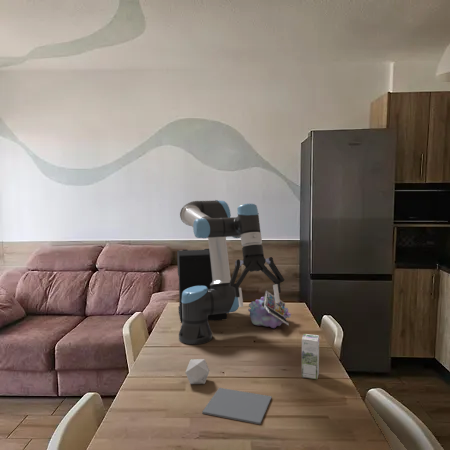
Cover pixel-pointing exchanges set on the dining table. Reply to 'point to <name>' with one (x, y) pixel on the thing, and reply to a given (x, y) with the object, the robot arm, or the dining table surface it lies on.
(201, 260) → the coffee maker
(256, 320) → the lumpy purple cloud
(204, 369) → the die
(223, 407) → the mat
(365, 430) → the dining table surface
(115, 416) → the dining table surface
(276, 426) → the dining table surface
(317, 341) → the syrup box
